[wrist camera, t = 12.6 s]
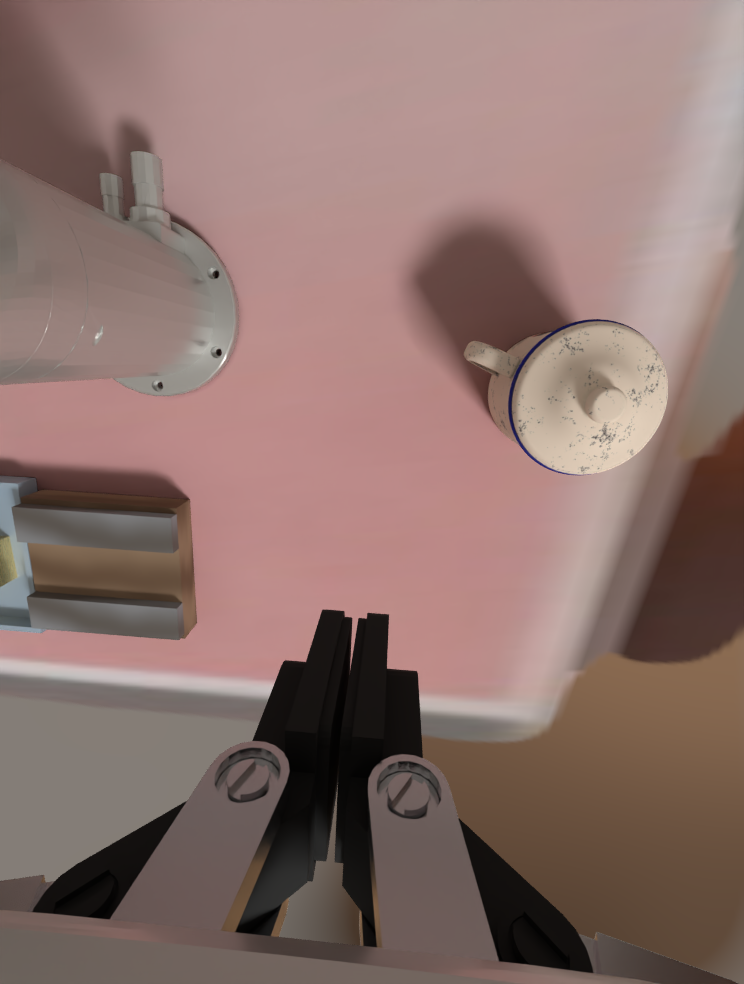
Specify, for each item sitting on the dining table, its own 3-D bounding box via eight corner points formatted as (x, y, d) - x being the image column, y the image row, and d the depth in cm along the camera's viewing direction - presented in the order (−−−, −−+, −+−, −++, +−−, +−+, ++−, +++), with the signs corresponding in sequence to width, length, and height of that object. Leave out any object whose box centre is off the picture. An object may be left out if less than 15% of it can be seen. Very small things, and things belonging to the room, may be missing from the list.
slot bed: (42, 489, 40) (10, 501, 37) (189, 499, 40) (170, 512, 36) (61, 612, 43) (32, 633, 40) (196, 622, 43) (179, 645, 39)
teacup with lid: (628, 361, 35) (737, 361, 23) (564, 468, 37) (635, 514, 26) (485, 290, 34) (528, 255, 23) (429, 404, 36) (443, 424, 25)
